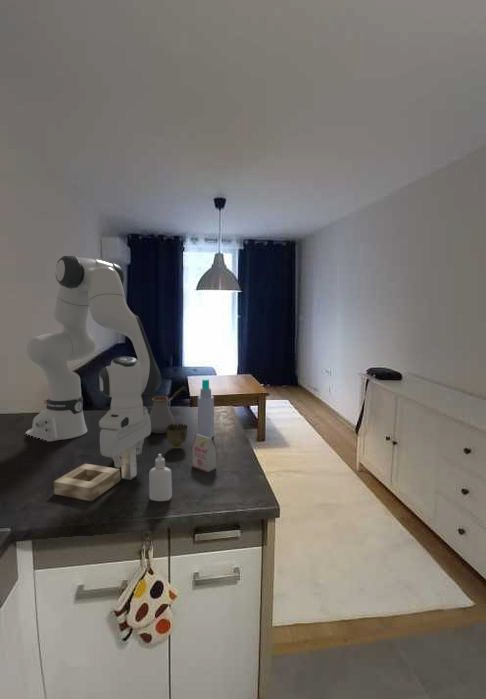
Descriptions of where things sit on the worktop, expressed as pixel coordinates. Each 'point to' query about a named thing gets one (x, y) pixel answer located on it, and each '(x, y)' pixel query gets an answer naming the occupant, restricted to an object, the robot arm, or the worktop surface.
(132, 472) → the metal peg
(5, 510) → the worktop surface
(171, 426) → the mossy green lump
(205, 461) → the white and red box
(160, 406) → the coffee pot
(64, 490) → the tan square ring
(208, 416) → the spray bottle
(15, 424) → the worktop surface
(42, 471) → the worktop surface
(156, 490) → the eye dropper bottle
